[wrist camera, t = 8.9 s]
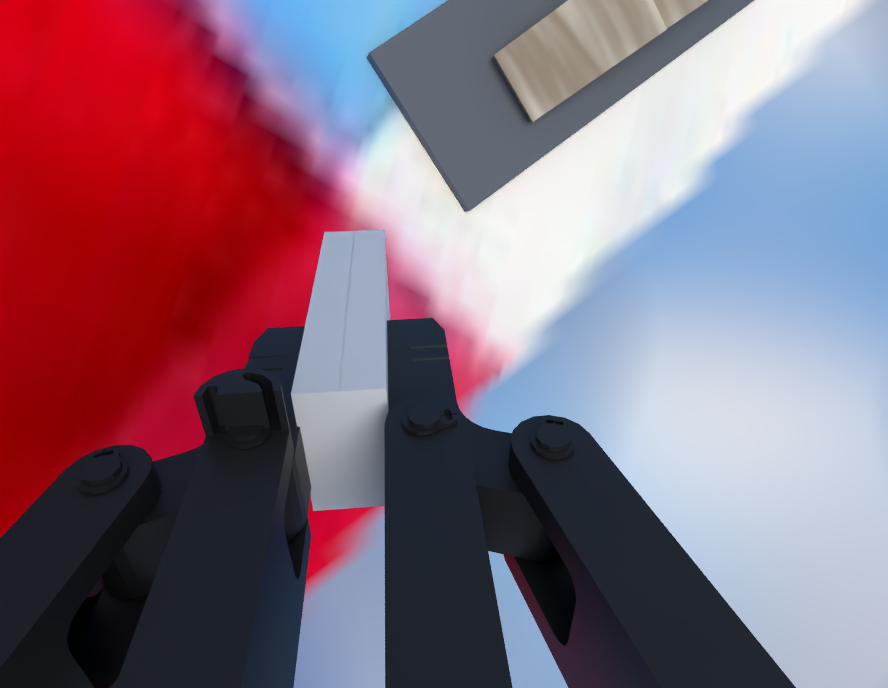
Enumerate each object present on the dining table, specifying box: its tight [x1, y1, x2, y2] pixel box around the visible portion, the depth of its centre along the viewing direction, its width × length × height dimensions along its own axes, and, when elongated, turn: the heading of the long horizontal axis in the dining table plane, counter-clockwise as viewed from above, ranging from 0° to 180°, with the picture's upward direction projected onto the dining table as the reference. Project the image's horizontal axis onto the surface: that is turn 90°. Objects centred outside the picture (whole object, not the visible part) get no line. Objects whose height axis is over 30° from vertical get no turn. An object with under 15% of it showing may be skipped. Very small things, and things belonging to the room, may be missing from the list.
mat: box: [367, 0, 754, 212], centre depth 42 cm, size 30×12×1 cm, turn 126°
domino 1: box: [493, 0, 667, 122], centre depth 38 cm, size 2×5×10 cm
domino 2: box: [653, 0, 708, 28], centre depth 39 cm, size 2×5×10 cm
